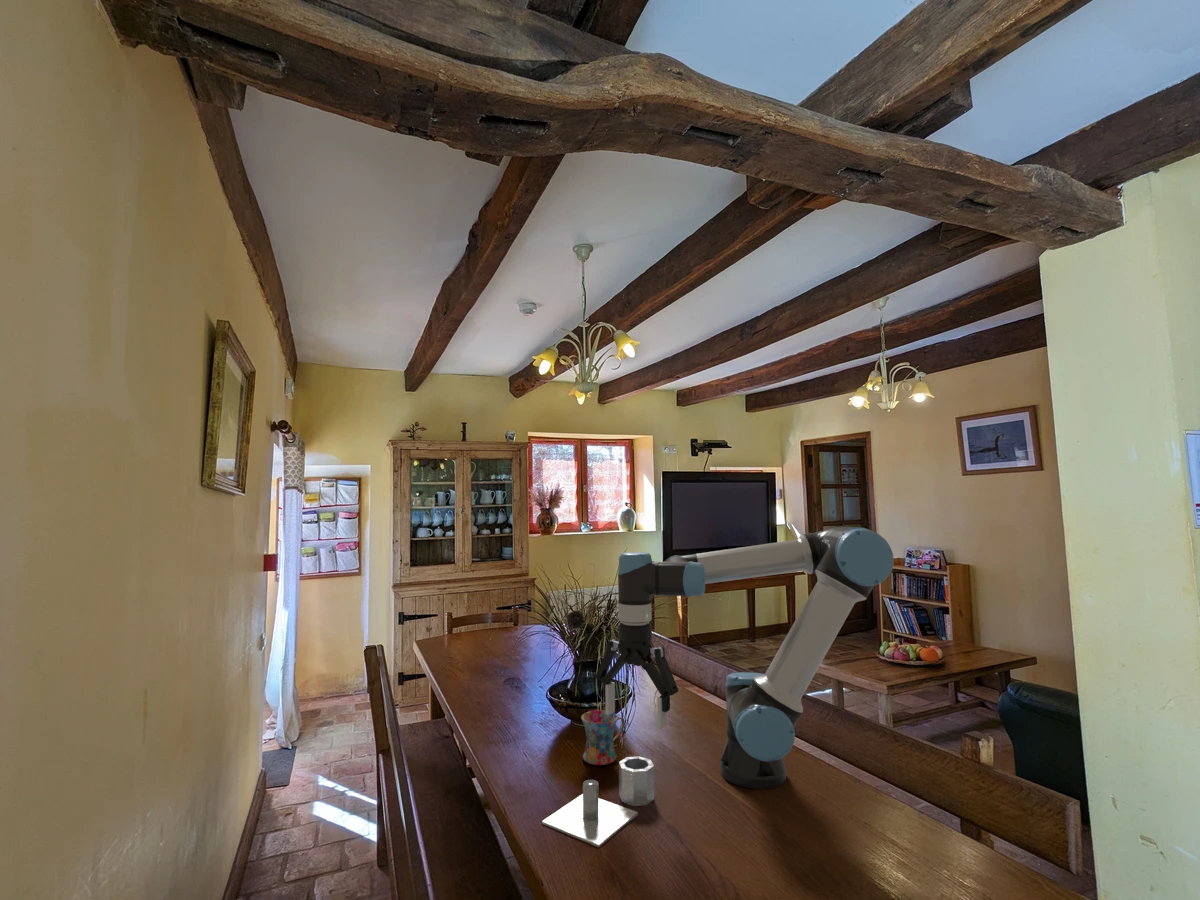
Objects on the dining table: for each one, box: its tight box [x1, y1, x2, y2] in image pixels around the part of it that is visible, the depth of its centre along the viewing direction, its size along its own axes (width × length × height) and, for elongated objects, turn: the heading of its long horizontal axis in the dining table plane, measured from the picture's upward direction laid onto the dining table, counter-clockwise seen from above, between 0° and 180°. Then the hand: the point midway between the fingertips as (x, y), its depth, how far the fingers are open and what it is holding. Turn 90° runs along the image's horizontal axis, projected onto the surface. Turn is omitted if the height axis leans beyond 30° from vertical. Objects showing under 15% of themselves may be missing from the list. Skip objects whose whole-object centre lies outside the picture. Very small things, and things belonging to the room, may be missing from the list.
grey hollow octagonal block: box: [618, 755, 655, 807], centre depth 128 cm, size 7×7×7 cm
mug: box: [581, 709, 626, 766], centre depth 147 cm, size 12×9×11 cm
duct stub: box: [542, 779, 639, 848], centre depth 119 cm, size 14×14×7 cm
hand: (635, 719), depth 129 cm, fingers open, 13 cm apart
